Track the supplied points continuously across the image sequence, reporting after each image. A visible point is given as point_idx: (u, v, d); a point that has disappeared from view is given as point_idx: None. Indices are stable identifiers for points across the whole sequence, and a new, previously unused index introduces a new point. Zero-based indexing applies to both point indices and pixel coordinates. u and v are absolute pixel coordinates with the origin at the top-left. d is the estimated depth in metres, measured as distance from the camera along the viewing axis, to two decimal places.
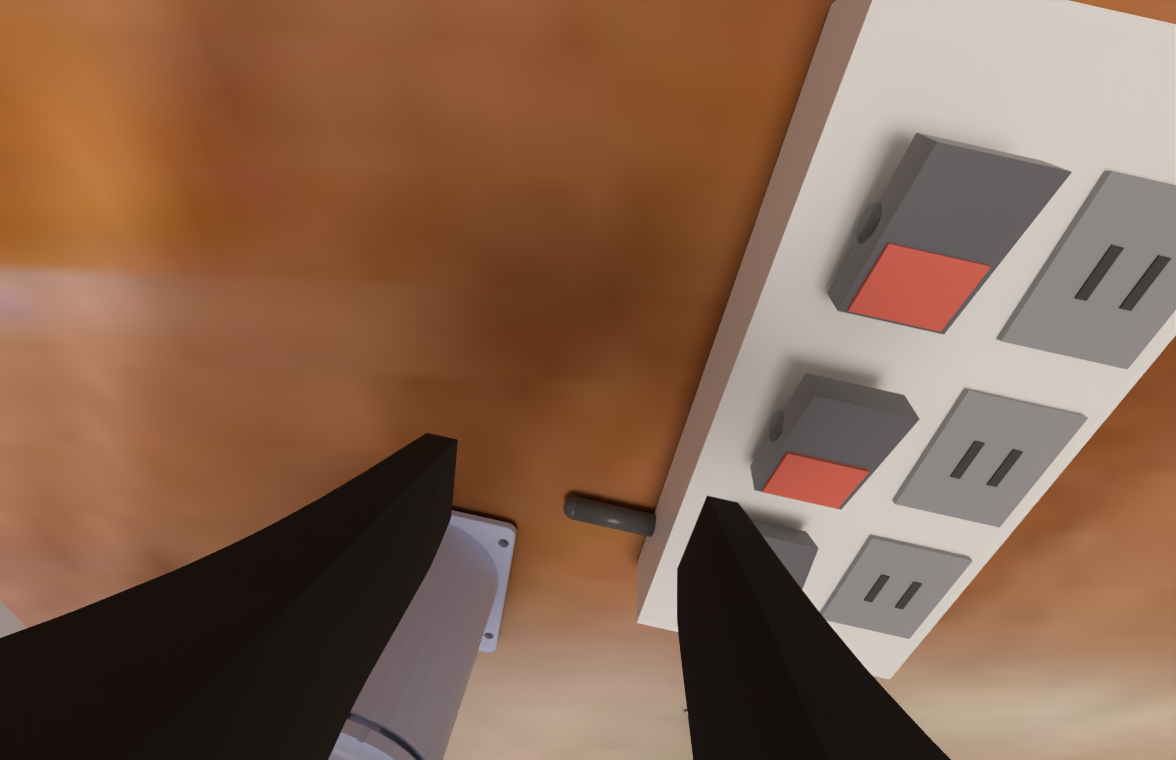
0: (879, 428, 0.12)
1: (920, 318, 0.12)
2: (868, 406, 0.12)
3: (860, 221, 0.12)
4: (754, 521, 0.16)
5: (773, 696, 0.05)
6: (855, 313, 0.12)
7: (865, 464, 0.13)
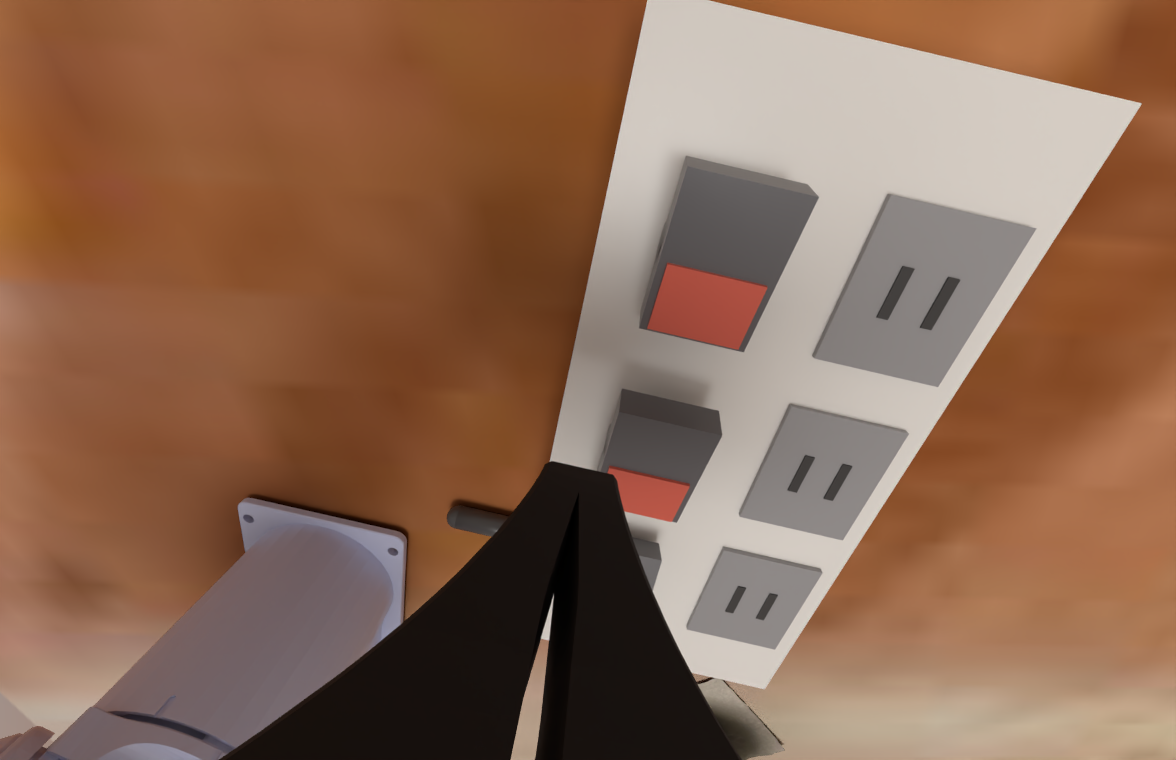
0: (688, 444, 0.13)
1: (716, 336, 0.12)
2: (672, 422, 0.12)
3: (659, 240, 0.12)
4: None
5: (567, 650, 0.05)
6: (655, 331, 0.12)
7: (685, 479, 0.13)
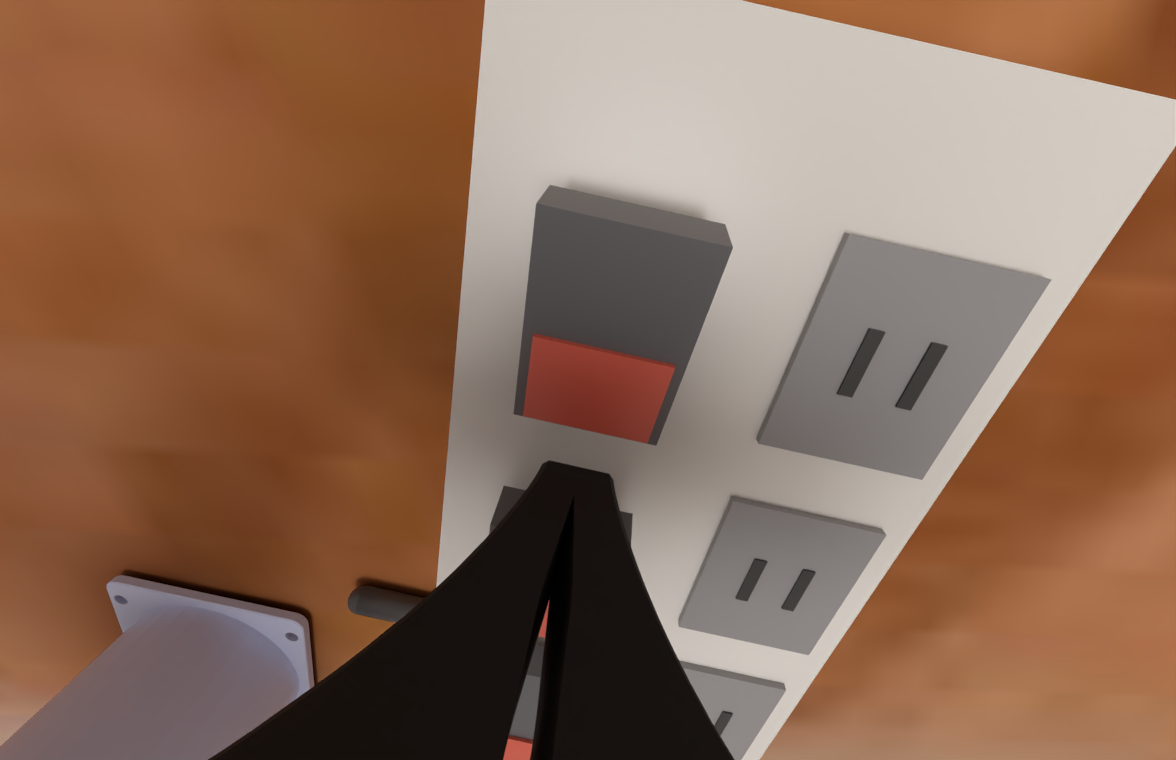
0: None
1: (615, 427, 0.09)
2: None
3: None
4: None
5: (561, 649, 0.05)
6: (534, 418, 0.09)
7: None
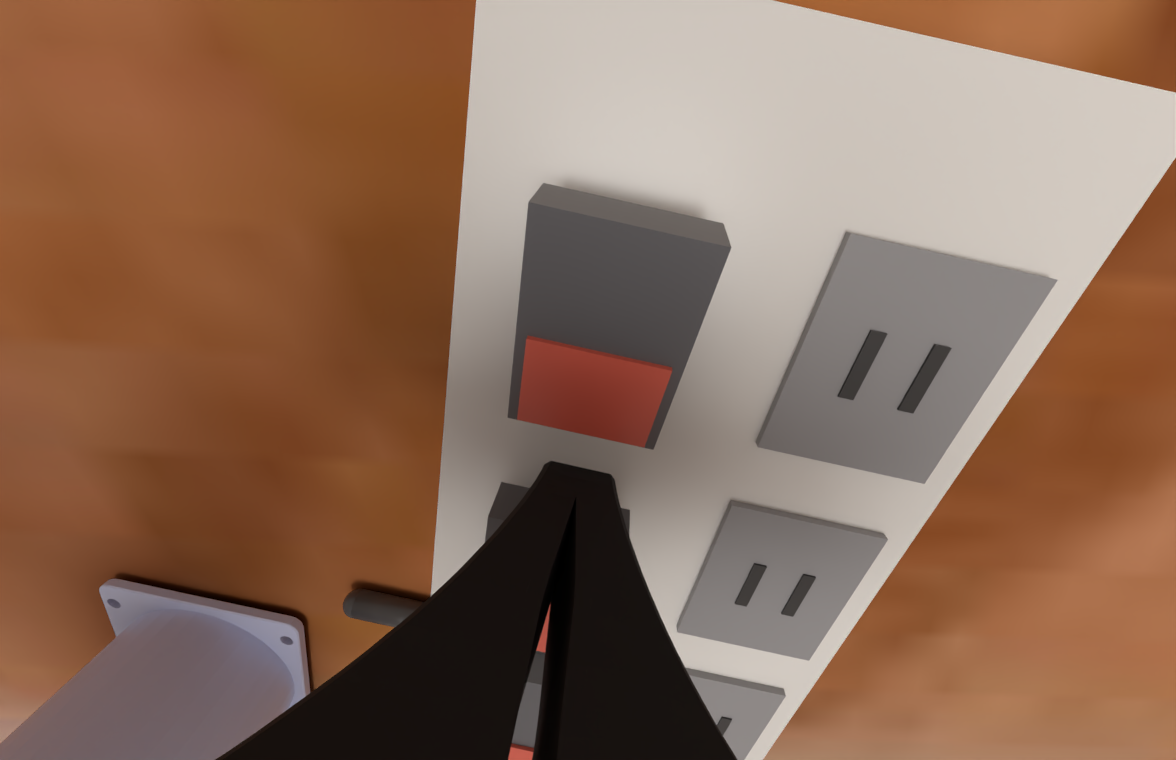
0: None
1: (611, 431, 0.08)
2: None
3: None
4: None
5: (564, 649, 0.05)
6: (529, 422, 0.09)
7: None
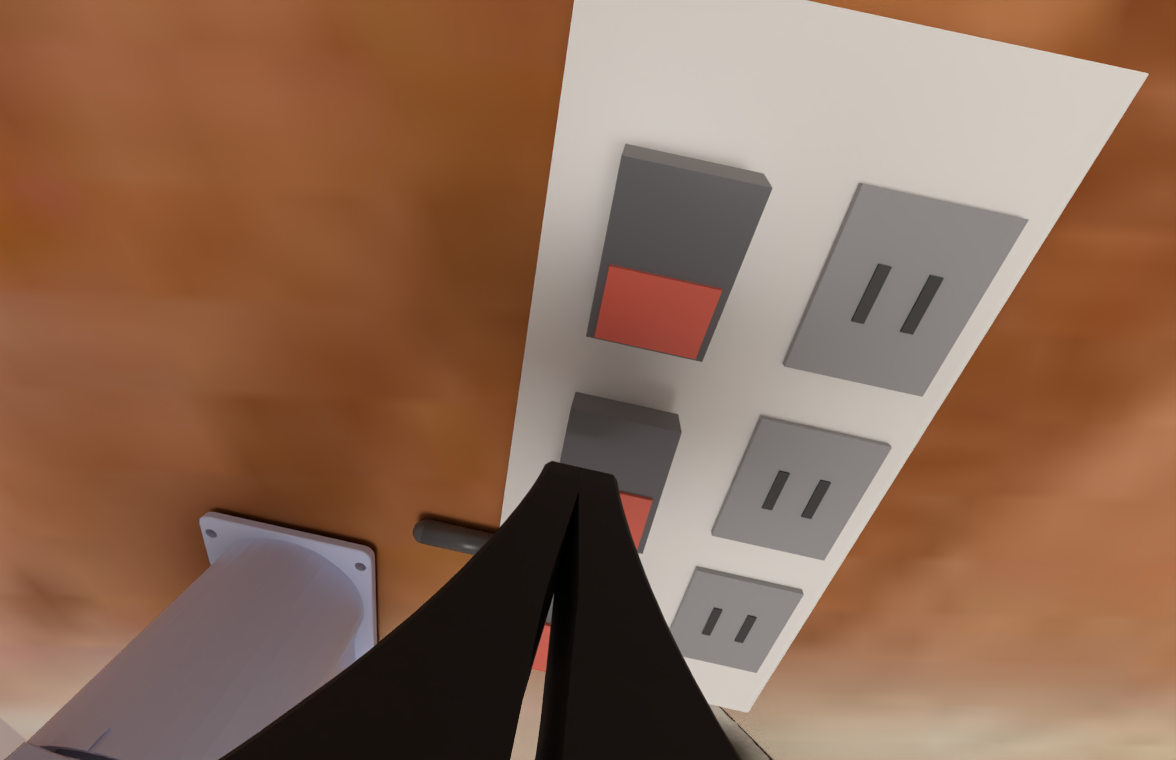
0: (646, 445, 0.12)
1: (670, 345, 0.11)
2: (628, 419, 0.11)
3: None
4: None
5: (567, 650, 0.05)
6: (603, 339, 0.11)
7: (647, 492, 0.12)
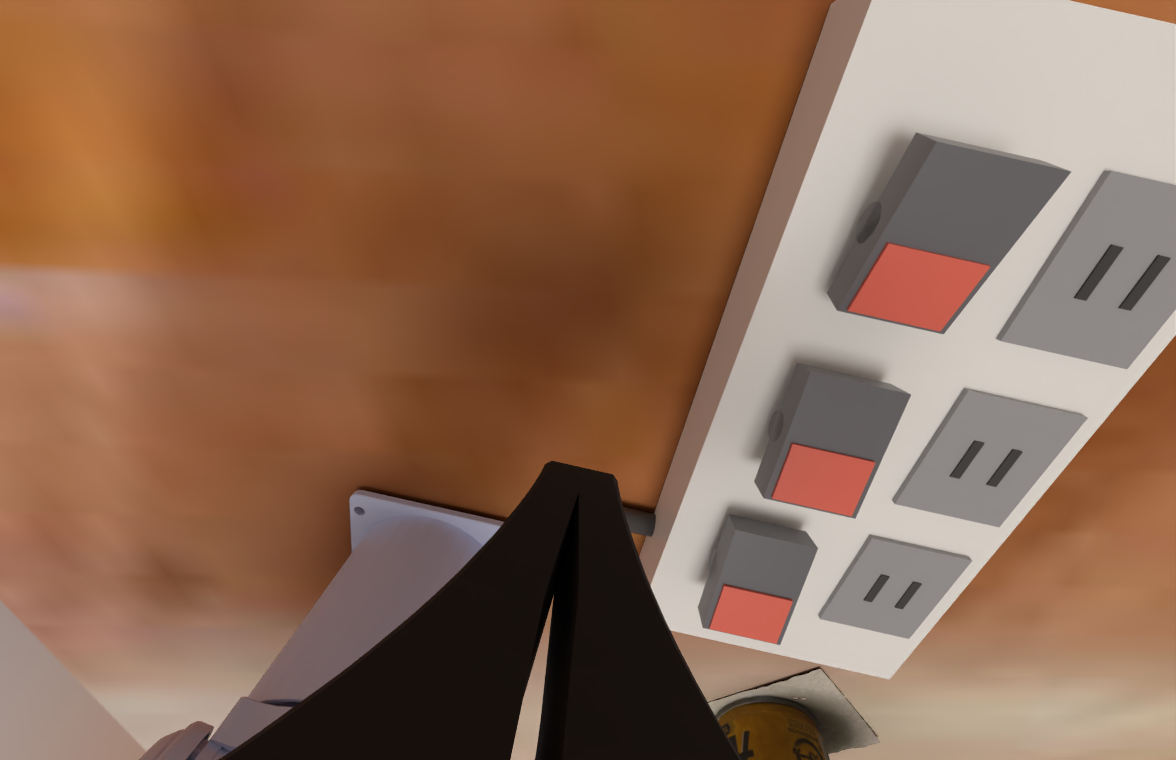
0: (876, 408, 0.13)
1: (920, 318, 0.12)
2: (861, 382, 0.13)
3: (860, 221, 0.12)
4: (754, 521, 0.16)
5: (568, 650, 0.05)
6: (855, 313, 0.12)
7: (870, 454, 0.13)
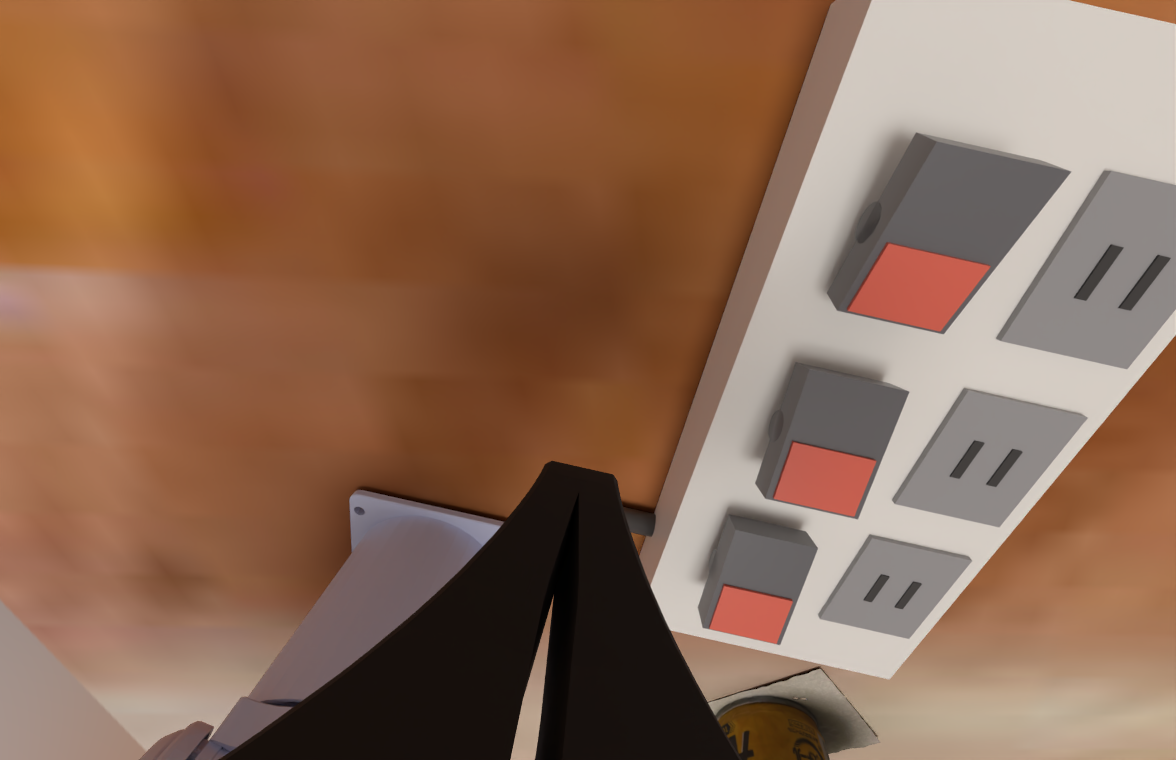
0: (875, 405, 0.13)
1: (920, 318, 0.12)
2: (860, 380, 0.13)
3: (860, 221, 0.12)
4: (754, 521, 0.16)
5: (568, 650, 0.05)
6: (855, 313, 0.12)
7: (870, 452, 0.13)
